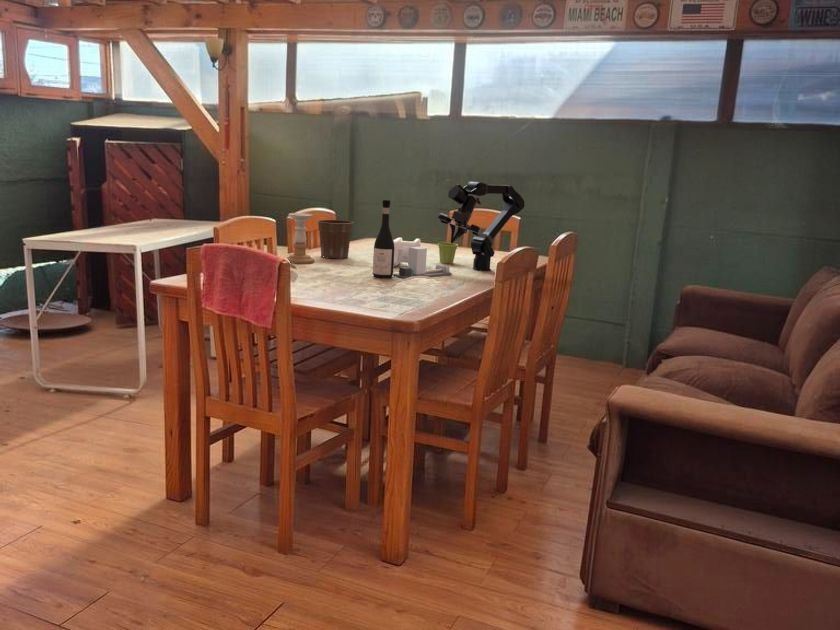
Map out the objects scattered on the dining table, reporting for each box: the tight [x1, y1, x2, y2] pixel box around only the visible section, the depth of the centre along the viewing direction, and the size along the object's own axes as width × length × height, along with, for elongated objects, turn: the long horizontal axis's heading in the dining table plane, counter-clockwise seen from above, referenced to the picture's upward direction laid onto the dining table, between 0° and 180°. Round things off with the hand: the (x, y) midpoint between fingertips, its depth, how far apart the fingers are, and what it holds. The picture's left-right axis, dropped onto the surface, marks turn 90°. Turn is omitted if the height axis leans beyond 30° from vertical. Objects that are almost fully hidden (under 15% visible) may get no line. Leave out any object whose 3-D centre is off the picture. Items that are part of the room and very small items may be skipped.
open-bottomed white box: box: [407, 246, 428, 275], centre depth 289 cm, size 5×5×10 cm
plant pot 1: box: [316, 219, 355, 259], centre depth 325 cm, size 16×16×16 cm
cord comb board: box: [392, 264, 453, 280], centre depth 292 cm, size 25×8×4 cm, turn 133°
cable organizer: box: [393, 237, 422, 267], centre depth 313 cm, size 15×11×12 cm
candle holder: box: [285, 212, 315, 264], centre depth 306 cm, size 12×12×20 cm
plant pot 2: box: [437, 242, 459, 265], centre depth 329 cm, size 9×9×9 cm
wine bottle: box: [372, 199, 395, 279], centre depth 281 cm, size 8×8×30 cm
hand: (451, 243), depth 303 cm, fingers closed
